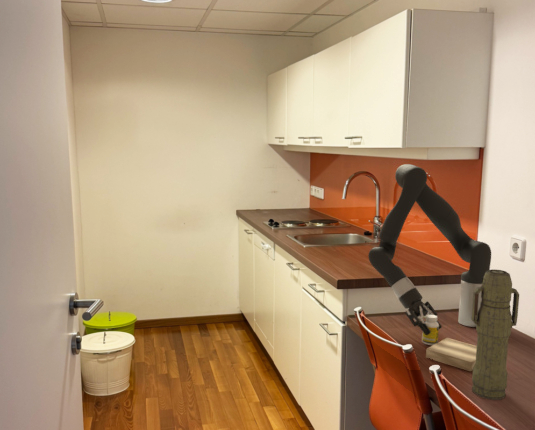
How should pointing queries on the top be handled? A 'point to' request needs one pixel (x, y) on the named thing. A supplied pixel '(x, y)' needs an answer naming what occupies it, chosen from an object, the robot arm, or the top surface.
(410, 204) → the robot arm
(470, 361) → the base board
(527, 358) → the top surface
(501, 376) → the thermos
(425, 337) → the supplement bottle
